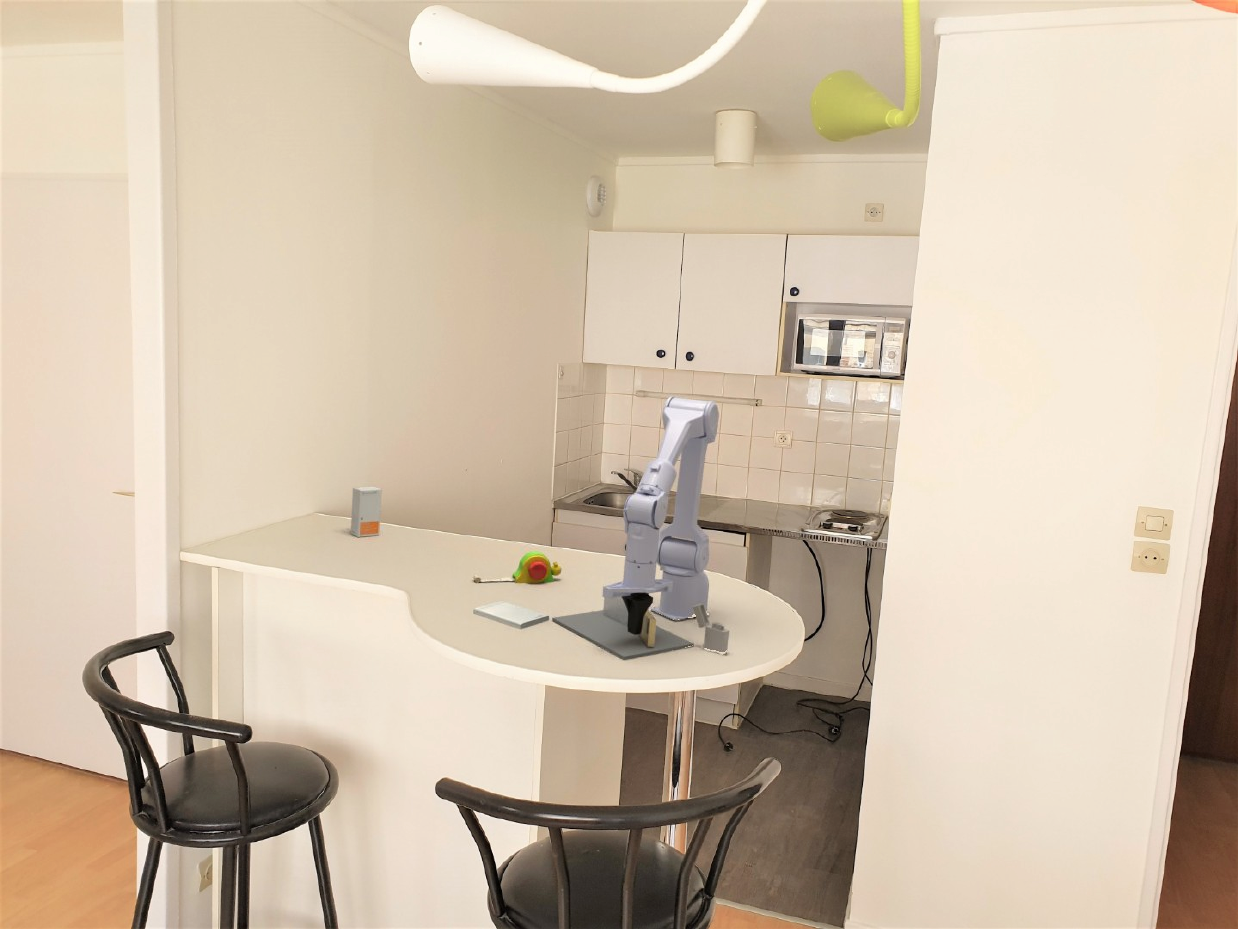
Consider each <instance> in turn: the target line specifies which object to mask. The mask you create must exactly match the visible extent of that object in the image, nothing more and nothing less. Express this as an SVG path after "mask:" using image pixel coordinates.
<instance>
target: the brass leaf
mask: <svg viewBox="0 0 1238 929" xmlns="http://www.w3.org/2000/svg"><path fill="white" fill-rule="evenodd" d="M650 611H651V610H649V609H648V610H647V612H646V613H645V615H644V618H643V626H642V631H641V634H639V636H640V637H641V638H642V640H643V641H644V642H645V644H646V645H647V647H654V642H655V631H656V626H657V619H656V617H655V616H654V615H653V614H652V613H651V612H650Z"/></svg>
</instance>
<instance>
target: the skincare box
mask: <svg viewBox="0 0 1238 929" xmlns="http://www.w3.org/2000/svg"><path fill="white" fill-rule="evenodd" d="M382 491H383V490H382V488H379V487H376V486H360V487H352V498H351V499H352V500H351V519H350V520H351V521H350V535H353V536H354V537H357V538H361V537H375V536H380V531H381V530H380V528H381V527H380V526H381V512H382V511H381V508H382V495H383V494H382Z"/></svg>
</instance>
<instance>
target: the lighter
mask: <svg viewBox="0 0 1238 929" xmlns="http://www.w3.org/2000/svg"><path fill="white" fill-rule="evenodd" d="M693 609H694V612H695V615H696V618H695V619H696V622H697V626H698V628H699V629H700V628H705V629H704V630H705V631H704V639H703V640H704V642H703V649H704V648H707V649H710V650H716V651H719V652H725V651H726V650H727V651H728V646H729V636H730V629H726V628H725V625H724V624H723V623H722V622H718V621H713V622H711V624H710V619H709V617H708V616H709V615H708V616H707V613H706V610H705V606H704V604H703V603H701V604H697V605H695V606H693Z"/></svg>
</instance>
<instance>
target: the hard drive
mask: <svg viewBox="0 0 1238 929" xmlns="http://www.w3.org/2000/svg"><path fill="white" fill-rule="evenodd" d="M472 613H473V615H474V614H475V615H477V616H479V617H483V618H486V619H489V620H491V621H495V622H498V623H500V624H504V625H506V626H510V627H513V628H515V629H519V630H522V629H523V630H524V629H526V628H529V627H533V626H535V625H539V624H541V623H545V622H548V621H550V616H549V615H548V614H544V613H540V612H537V611H534V610H532V609H529V608H525V607H523V606H520V605H517V604H514V603H510V602H507V601H503V600H499V601H496V602H491V603H488V604H486V605H481V606H478V607H475V608H473V612H472Z"/></svg>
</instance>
